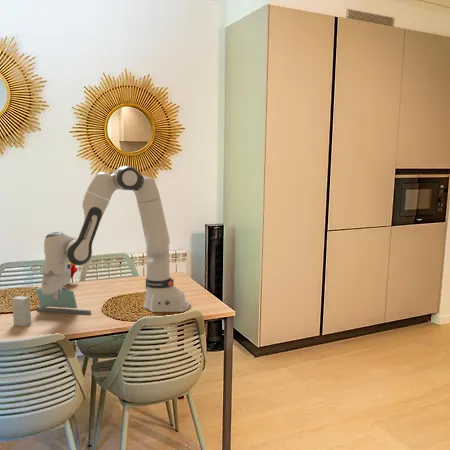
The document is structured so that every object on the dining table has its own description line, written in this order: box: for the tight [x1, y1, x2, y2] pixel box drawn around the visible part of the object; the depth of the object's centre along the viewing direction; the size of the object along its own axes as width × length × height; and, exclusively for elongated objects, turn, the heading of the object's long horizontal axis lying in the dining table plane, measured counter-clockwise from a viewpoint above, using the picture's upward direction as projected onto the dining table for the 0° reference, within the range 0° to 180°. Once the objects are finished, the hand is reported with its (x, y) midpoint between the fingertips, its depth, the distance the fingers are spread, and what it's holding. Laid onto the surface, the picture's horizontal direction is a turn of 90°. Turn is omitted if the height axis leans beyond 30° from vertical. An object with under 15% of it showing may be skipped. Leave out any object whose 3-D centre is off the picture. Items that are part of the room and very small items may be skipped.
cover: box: [35, 287, 78, 309], centre depth 217 cm, size 18×10×1 cm
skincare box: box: [11, 295, 32, 327], centre depth 203 cm, size 6×4×12 cm
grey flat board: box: [36, 304, 92, 315], centre depth 224 cm, size 27×12×2 cm, turn 82°
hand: (57, 298), depth 209 cm, fingers closed
